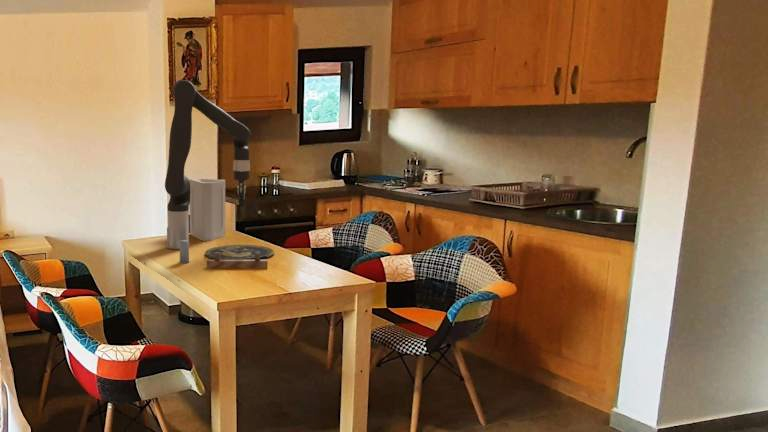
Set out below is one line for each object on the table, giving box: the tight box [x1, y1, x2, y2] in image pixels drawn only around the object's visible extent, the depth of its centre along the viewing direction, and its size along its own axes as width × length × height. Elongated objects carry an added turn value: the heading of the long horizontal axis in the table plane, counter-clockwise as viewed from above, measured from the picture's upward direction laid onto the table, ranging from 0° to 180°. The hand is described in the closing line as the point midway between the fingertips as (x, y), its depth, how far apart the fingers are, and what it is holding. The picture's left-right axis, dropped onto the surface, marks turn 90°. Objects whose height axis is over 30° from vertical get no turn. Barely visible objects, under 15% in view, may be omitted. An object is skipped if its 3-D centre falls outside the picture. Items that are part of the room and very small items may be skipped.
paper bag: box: [188, 178, 226, 242], centre depth 339 cm, size 19×15×28 cm
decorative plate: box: [204, 244, 275, 260], centre depth 302 cm, size 30×2×30 cm
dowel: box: [179, 240, 190, 264], centre depth 283 cm, size 4×4×9 cm
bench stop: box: [206, 253, 268, 269], centre depth 278 cm, size 24×3×6 cm, turn 100°
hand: (241, 206), depth 319 cm, fingers closed
